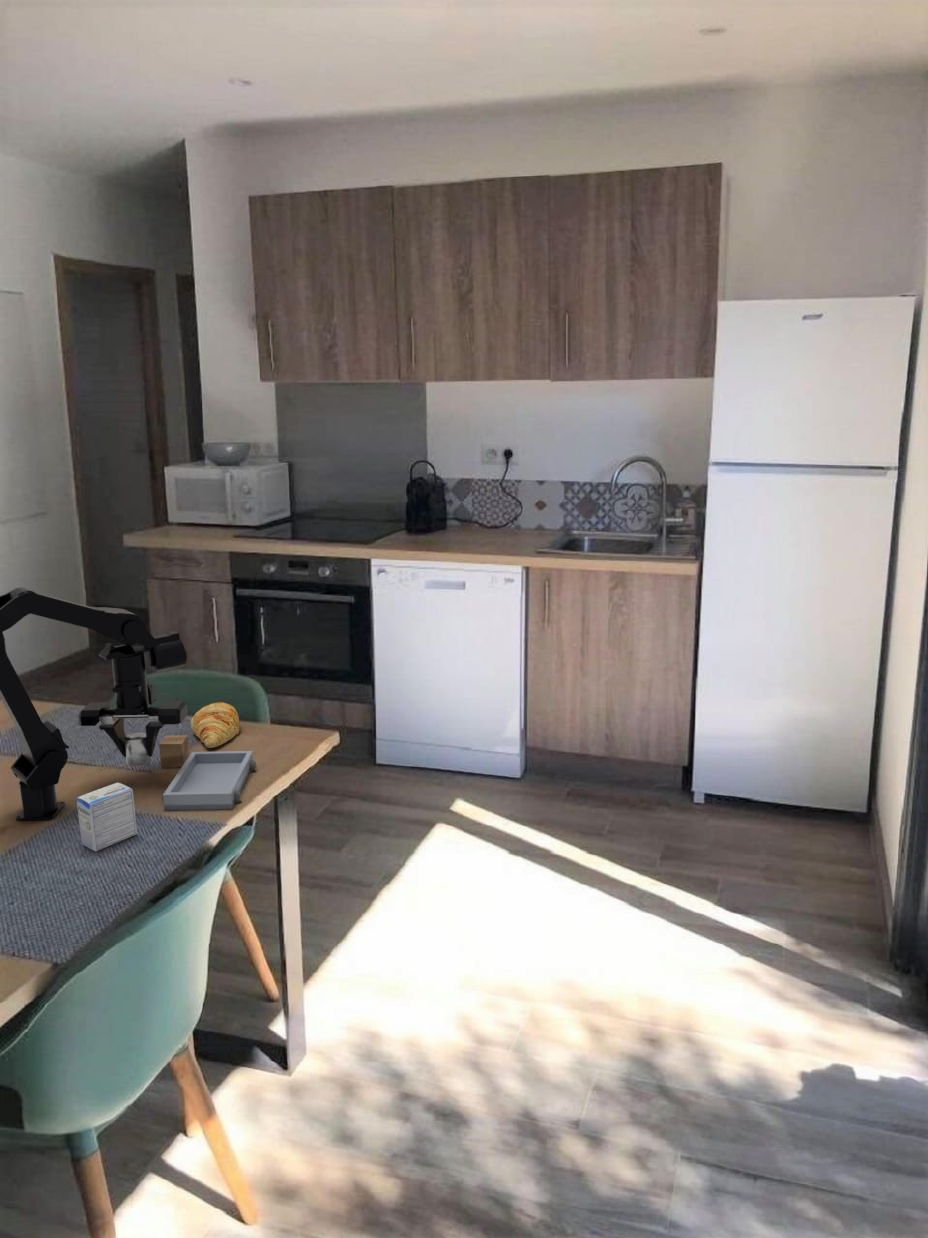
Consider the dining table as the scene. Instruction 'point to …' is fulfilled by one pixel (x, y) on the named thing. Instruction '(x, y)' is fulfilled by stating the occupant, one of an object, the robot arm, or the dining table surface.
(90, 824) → the medicine box
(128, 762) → the cylinder
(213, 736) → the croissant
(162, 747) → the walnut block
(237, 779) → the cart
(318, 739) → the dining table surface
